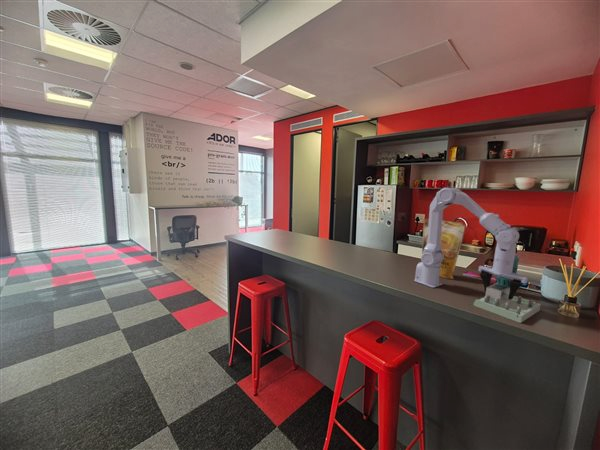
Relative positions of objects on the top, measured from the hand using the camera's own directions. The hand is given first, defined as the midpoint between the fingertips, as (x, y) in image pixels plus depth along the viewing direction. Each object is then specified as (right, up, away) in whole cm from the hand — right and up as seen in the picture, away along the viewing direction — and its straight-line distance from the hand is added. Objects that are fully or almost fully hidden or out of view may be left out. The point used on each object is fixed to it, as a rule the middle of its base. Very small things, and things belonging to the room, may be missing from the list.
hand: (498, 294), depth 95 cm
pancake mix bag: (-5, +1, +33) cm, 34 cm away
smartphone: (+16, -1, +30) cm, 34 cm away
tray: (+1, -4, -2) cm, 5 cm away
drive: (0, -2, 0) cm, 2 cm away
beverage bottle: (+13, -3, +13) cm, 19 cm away
